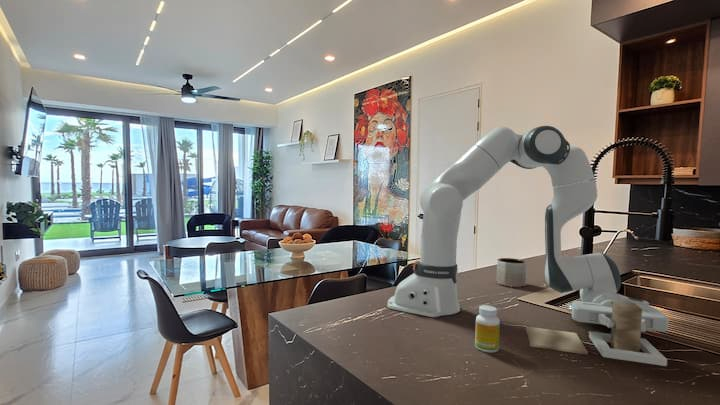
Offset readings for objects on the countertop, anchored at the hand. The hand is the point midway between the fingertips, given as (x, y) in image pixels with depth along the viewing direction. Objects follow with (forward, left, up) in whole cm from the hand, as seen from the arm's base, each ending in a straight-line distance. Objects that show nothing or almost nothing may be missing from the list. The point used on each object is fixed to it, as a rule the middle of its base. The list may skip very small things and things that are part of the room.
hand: (627, 326), depth 86 cm
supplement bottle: (-31, -10, -6) cm, 33 cm away
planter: (-22, +56, -6) cm, 60 cm away
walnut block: (0, +1, -6) cm, 6 cm away
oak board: (-15, +1, -6) cm, 16 cm away
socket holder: (0, +1, -6) cm, 6 cm away
